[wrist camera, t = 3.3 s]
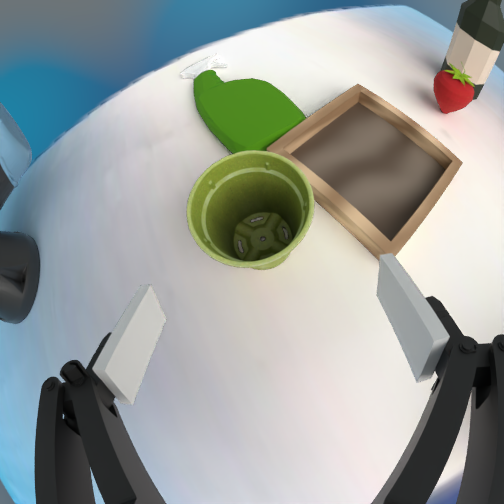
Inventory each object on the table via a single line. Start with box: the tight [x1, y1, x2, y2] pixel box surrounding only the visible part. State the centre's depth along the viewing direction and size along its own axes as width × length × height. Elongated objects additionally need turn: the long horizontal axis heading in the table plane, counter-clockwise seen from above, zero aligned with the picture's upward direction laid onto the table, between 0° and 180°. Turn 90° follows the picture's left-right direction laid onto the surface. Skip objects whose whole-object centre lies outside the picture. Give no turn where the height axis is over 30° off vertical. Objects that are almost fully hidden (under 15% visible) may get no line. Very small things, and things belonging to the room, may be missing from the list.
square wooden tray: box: [267, 84, 463, 261], centre depth 27 cm, size 17×17×2 cm
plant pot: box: [187, 150, 314, 270], centre depth 23 cm, size 9×9×9 cm
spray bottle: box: [180, 54, 306, 154], centre depth 34 cm, size 3×11×24 cm
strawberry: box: [434, 62, 475, 114], centre depth 24 cm, size 6×8×10 cm
